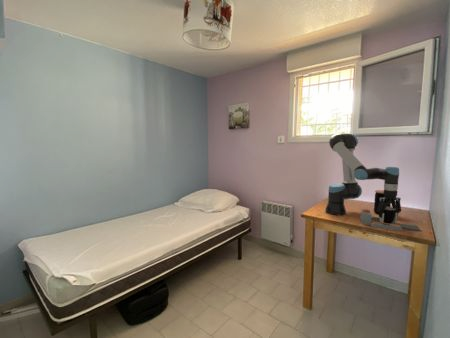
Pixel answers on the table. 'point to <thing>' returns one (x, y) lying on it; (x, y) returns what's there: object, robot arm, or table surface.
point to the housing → (367, 219)
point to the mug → (389, 215)
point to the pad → (409, 227)
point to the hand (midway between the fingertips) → (387, 221)
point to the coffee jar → (378, 195)
